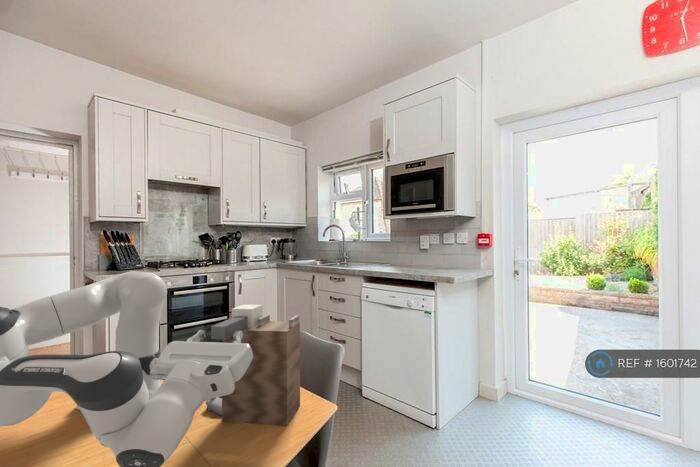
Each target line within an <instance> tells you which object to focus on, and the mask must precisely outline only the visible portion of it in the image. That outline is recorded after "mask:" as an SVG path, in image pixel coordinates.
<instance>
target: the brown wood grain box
mask: <svg viewBox="0 0 700 467" xmlns="http://www.w3.org/2000/svg"><path fill="white" fill-rule="evenodd" d="M300 330H301V323H300V315H298V314H297V315H294V316H293V317H291V318H290V319H289V320H288V321H276V320H274V321H271V316H270V314H266V315H263V317H261V318H259V319H258V325H256V326H254V327H252V328H246V329H244V330H242V333H243V337H242V339H241V343H247V344H249V345H250V347H251V349H252V353H253V358H252V361H251V363H250V365H249V367H248V368H247V370H246V372H245V373H244V375H243V376H242V378H241V379H240V380H238V381H237V382H234V383H235V389H234V391H233V393H231V394H229V395H225V396H222V415H221V422H224V423H238V424H252V425H265V426H279V427H288V425H289V424H290V423H291V421H292V419H293V418H294V416H295V415H296V414H297V412H298V410H299V408H300V407H301V344H300V343H301V341H300V340H301V334H300V333H301V331H300ZM221 340H222V342H221V343H233V342H234V341H235V340H234V337H233V335H232V336H231V337H229V338H227V339H225V340H224V339H221Z"/></svg>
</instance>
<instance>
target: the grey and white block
mask: <svg viewBox="0 0 700 467" xmlns="http://www.w3.org/2000/svg"><path fill="white" fill-rule="evenodd" d="M263 309H264V305H263V304H242V305H238V306H236V307H234V308H233V307H232V308H231V317H230V318H228V319H226V320H224V321H221V322H218V323H216V324H214V325H211V326H210V327H211V329H210V340H222V339H224V340H225V339H227V338H229V337H231V336H232V335H234V333H235V331H242V330H244V329H246V328H252V327H254V326H256V325H258V319H259V318H261V317H263V316H264V313H263V312H264V311H263Z"/></svg>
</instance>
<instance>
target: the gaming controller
mask: <svg viewBox="0 0 700 467" xmlns="http://www.w3.org/2000/svg"><path fill="white" fill-rule="evenodd" d="M205 404H206V409H205V410H206V411H208V412H211V411H213V412H214V413H216V414H217V415H219V416H222V396H221V397H217V398H213V399H210V400H207V401H205Z"/></svg>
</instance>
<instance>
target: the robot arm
mask: <svg viewBox="0 0 700 467" xmlns="http://www.w3.org/2000/svg"><path fill="white" fill-rule="evenodd" d="M167 295H168V288H167V284H166V282H165V281H164V279H162V278H161V277H160V276H159V275H157V274H155V273H153V272H148V271H140V270H139V271H138V270H130V271H126V272H123V273H120V274H116V275H113V276H111V277H107V278H105V279H102V280H98V281H96V282H93V283H90V284H88V285H84V286H81V287H76V288H73V289H71V290H65V291H63V292H59V293H56V294H52V295H50V296H45V297H41V298H38V299H36V300H33V301H29V302H28V303H25V304H22V305H20V306H17V307H14V308H13V309H11V308H8V307H3V306H0V427H8V426H14V425H17V424H20V423H22V422H24V421H26V420H27V419H29V418H31V417H32V416H34V415H35V414H37V413H38V412H39V411H40V410H41V409H42V408H43V407H44V406H45V404H46V403H47V401H48V400H49V399H50V397H51V396H52V393H53V392H58V393H59V392H60V393H61V392H62V393H65V394H67V395H68V396H69V397H70V398H71V400H72V401H74V403H75V404H76V408H75V409H76V410H79V411H80V412H81V414H82V416H83V418H84V420H85V421H86V423H87V425H88V427H89V429H90V431H91V432H92V434H93V436H94V437H95V439H96V440H97V442H98V443H99V444H100V445H102V446H104V447H107V448H108V449H109V450H110V451H111V452H112V453H113V455H114V457H115V461H116V463H117V465H118V466H119V467H162V466H163V465H164V464H165V463H166V462H168V460H169V459H170V457H172V455H173V454H174V452H176V450H177V448H178V446H180V443H181V441H182V440H183V439H184V437H185V435H186V434H187V431H188V430H189V428H190V426H191V425H192V423H193V418H194V415H195V413H196V412H197V411H198V410H199V408H201V407H202V405H203V403H205V402H206V401H207V400H210V399H213V398H217V397H221V396H225V395H229V394H231V393H233V391H234V389H235V383H234V382H237V381H238V380H240V379H241V378H242V376H243V375H244V373H245V372H246V370H247V368H248V367H249V365H250V363H251V361H252V358H253V353H252V349H251V347H250V345H249V344H247V343H241V339H242V337H243V333H242V331H235V333H234V335H233V337H234V340H235V341H234V342H233V343H222V342H218V341H217V342H216V341H215V342H214V341H211V342H210V341H203V340H205V339H206V337H207V335H208V332H207V331H206V329H199V330H198V331H197V333H196V334H194V335H192V336H191V337H189V338H187V340H186V341H183V340H180V341H179V340H173V341H171V342H169V343H167V345H165V348H163V350H162V352H161V350H160V348H159V340H160V339H159V338H160V336H159V333H160V331H159V330H160V320H161V316H162V312H163V307H164V301H165V299H166V297H167ZM118 313H119V316H118V320H117V325H116V328H115V346H114V348H115V349H114V350H111V351H105V352H99V353H93V354H33V355H31V352H30V348H29V346H33V345H35V344H39V343H43V342H48V341H51V340H53V339H57V338H60V337H63V336H66V335H69V334H71V333H74V332H77V331H80V330H83V329H85V328H88V327H91V326H93V325H97V324H99V323H101V322H102V321H104V320H105V319H108V318H110V317H112V316H115V315H116V314H118ZM161 381H162V382H161Z"/></svg>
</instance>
